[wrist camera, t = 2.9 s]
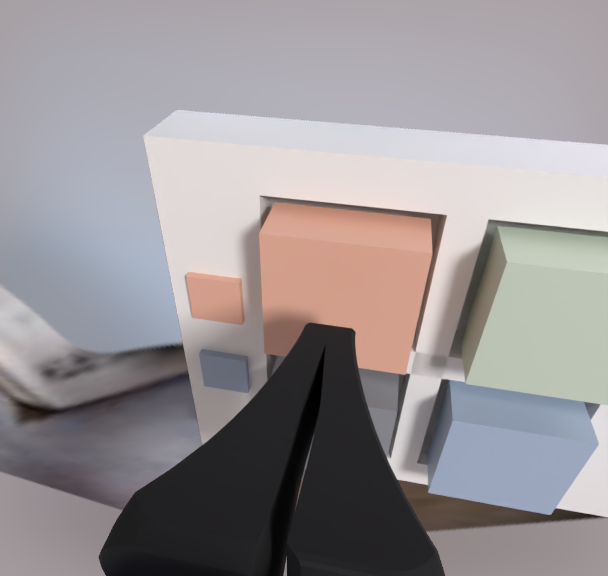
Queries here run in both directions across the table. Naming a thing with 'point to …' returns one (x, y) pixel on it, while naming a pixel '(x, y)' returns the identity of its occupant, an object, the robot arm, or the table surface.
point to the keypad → (367, 198)
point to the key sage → (541, 316)
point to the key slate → (508, 447)
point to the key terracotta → (344, 279)
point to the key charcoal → (375, 401)
